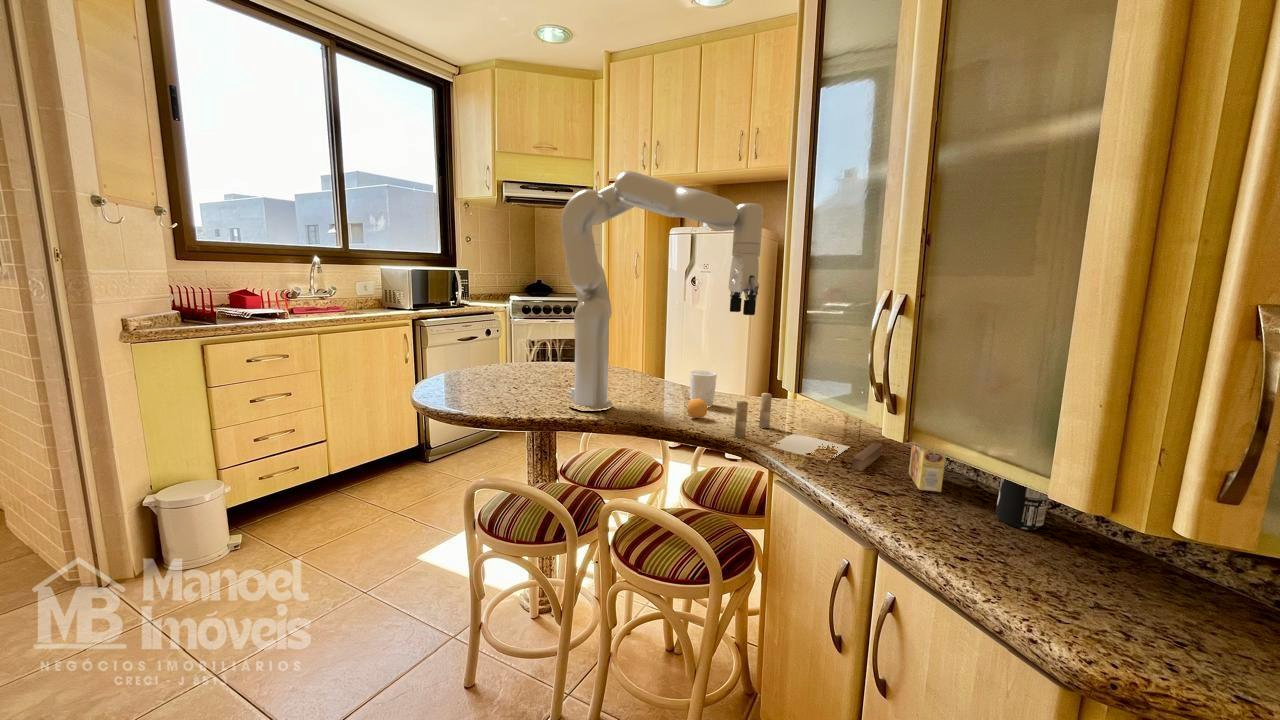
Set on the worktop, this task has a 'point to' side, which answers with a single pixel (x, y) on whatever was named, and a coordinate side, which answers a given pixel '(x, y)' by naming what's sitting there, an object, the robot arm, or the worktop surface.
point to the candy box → (926, 469)
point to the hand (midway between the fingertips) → (741, 313)
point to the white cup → (703, 386)
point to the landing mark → (806, 445)
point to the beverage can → (1020, 506)
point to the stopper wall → (867, 456)
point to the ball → (697, 408)
